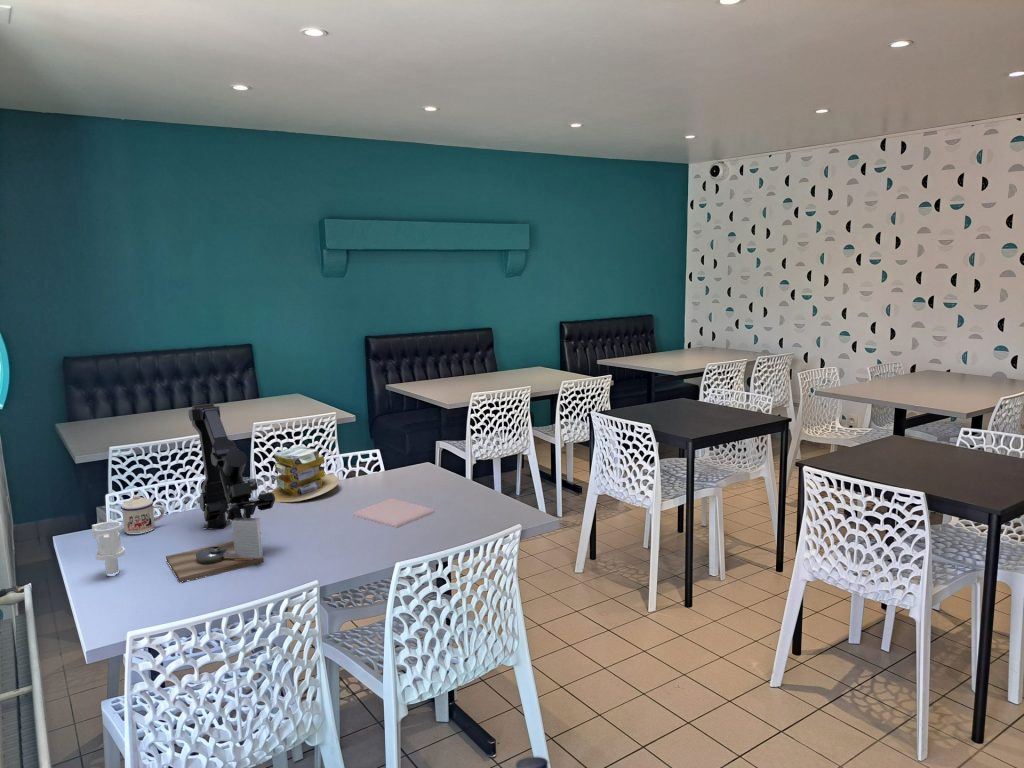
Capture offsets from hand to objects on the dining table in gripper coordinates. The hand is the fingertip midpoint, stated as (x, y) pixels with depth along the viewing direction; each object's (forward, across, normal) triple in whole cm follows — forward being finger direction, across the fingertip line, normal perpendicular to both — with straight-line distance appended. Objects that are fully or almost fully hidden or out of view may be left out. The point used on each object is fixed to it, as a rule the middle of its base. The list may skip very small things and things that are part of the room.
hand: (247, 532), depth 206 cm
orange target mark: (+6, -2, +5) cm, 7 cm away
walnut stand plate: (+2, -8, +11) cm, 13 cm away
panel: (-1, +42, +15) cm, 44 cm away
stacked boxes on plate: (-30, +35, +44) cm, 64 cm away
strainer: (-4, -33, +17) cm, 37 cm away
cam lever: (+3, -5, +6) cm, 9 cm away
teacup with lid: (-26, -20, +40) cm, 52 cm away
